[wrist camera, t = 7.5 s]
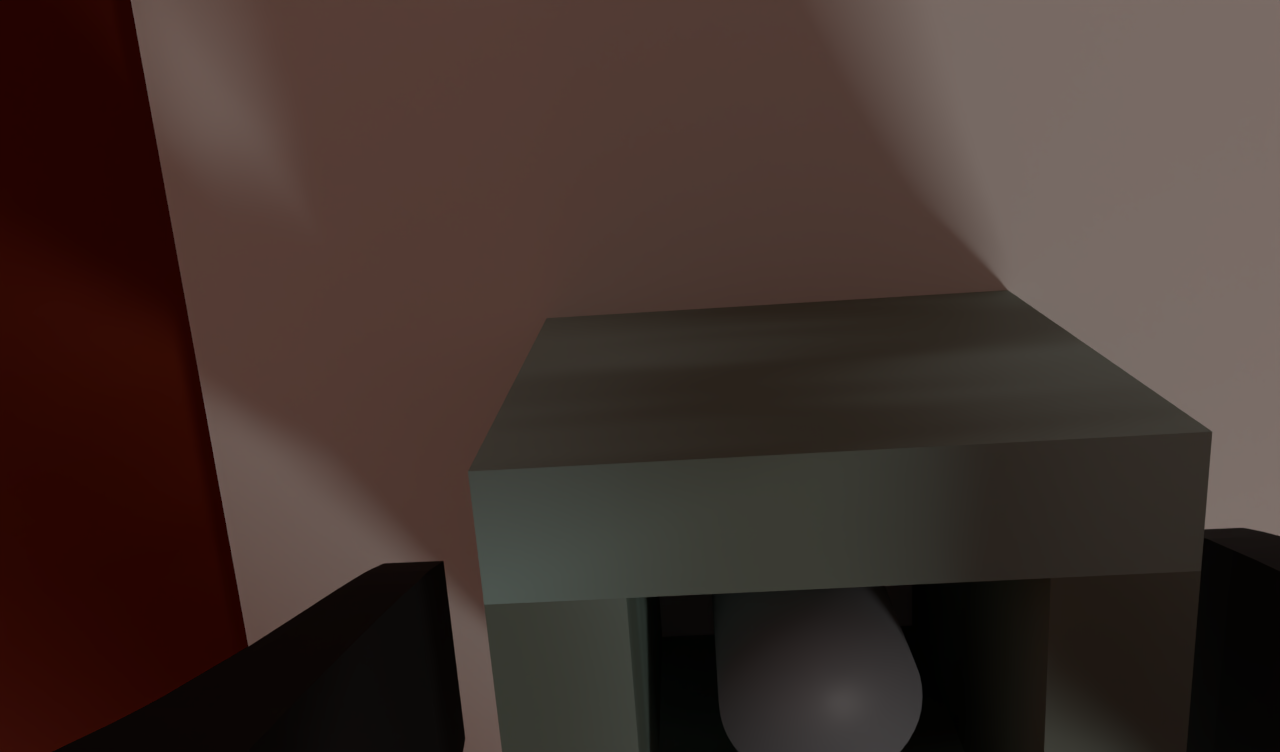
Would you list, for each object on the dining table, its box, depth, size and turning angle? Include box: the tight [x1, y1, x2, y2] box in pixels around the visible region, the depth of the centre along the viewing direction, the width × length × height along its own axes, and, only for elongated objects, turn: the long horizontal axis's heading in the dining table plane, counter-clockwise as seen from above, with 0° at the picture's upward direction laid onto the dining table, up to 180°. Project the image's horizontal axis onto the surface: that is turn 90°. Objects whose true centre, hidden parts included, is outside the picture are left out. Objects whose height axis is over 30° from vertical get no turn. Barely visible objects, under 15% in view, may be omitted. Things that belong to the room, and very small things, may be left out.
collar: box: [468, 290, 1212, 752], centre depth 11 cm, size 5×5×5 cm
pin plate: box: [131, 0, 1280, 752], centre depth 11 cm, size 18×18×5 cm
